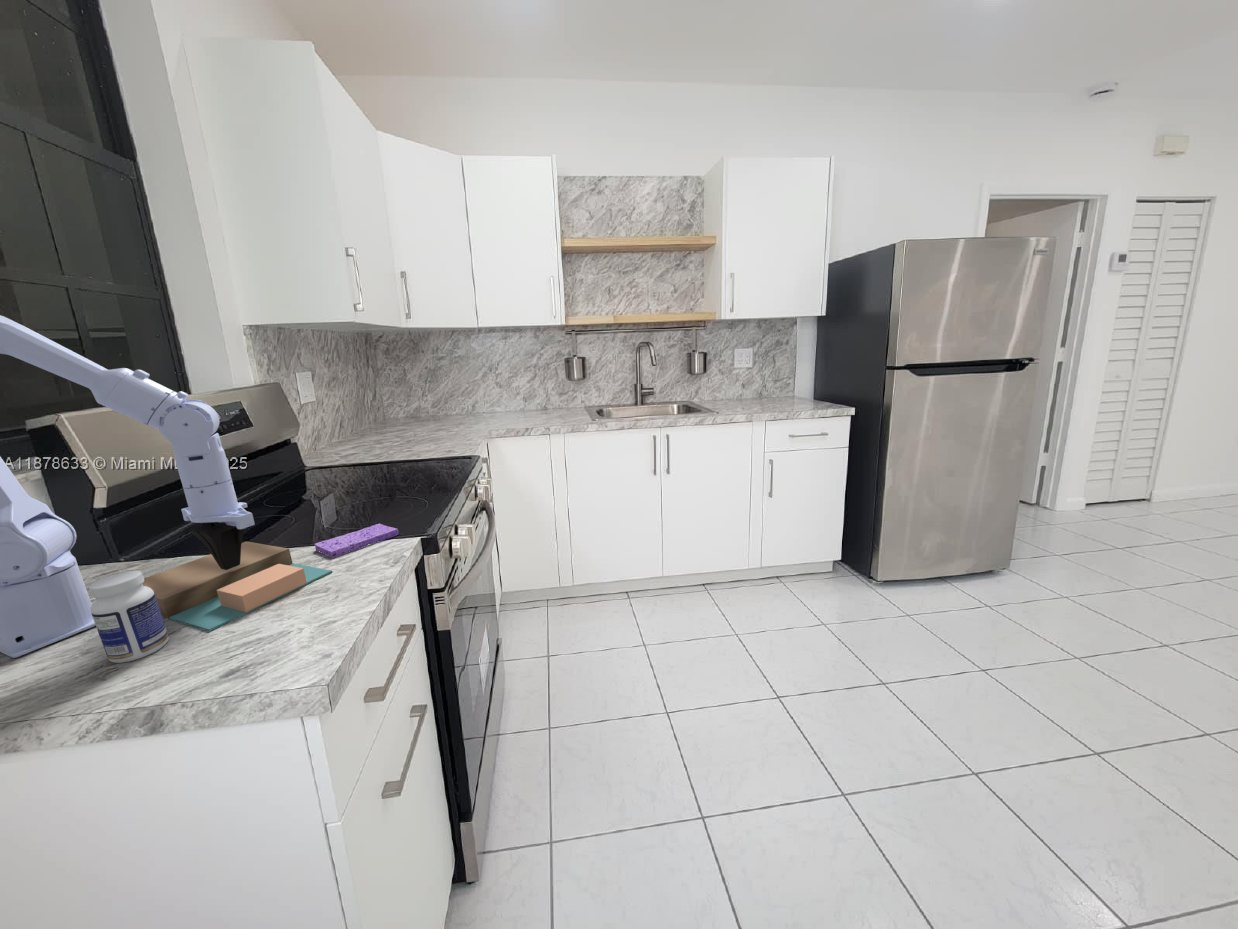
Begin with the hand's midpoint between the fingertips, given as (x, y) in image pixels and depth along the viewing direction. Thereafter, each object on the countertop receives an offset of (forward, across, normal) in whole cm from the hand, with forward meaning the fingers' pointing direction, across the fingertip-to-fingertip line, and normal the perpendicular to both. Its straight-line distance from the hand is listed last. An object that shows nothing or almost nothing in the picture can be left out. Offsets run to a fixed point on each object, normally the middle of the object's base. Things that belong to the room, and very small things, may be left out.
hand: (230, 566), depth 78 cm
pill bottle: (+4, -6, +15) cm, 16 cm away
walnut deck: (+4, +6, 0) cm, 7 cm away
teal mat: (+4, -5, 0) cm, 6 cm away
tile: (+2, -7, 0) cm, 8 cm away
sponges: (+5, -3, -20) cm, 21 cm away
